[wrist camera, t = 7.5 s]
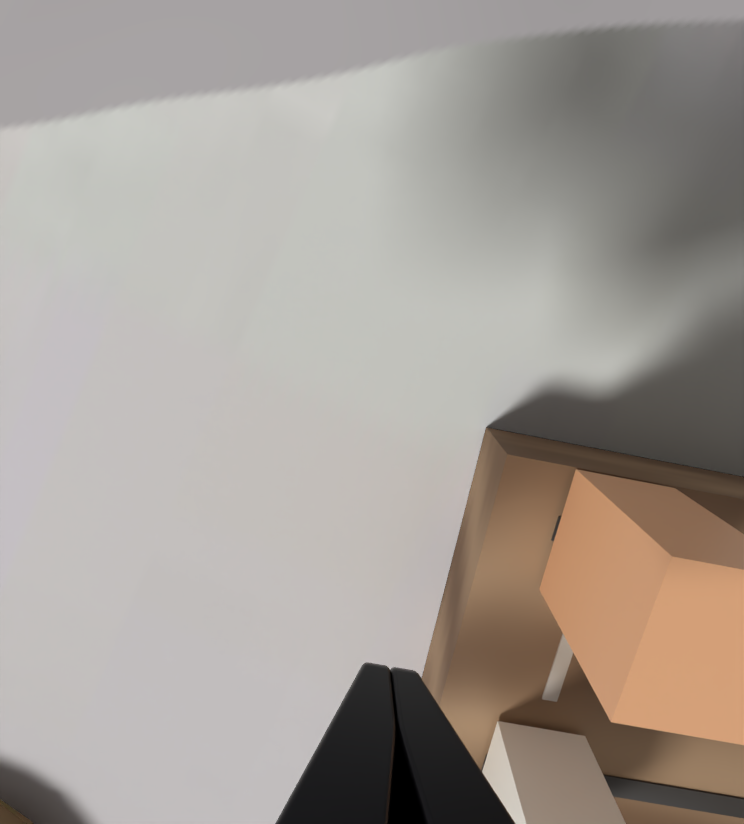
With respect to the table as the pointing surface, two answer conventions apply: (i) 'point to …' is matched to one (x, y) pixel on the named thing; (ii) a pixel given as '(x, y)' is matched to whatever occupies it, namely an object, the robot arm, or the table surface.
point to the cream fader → (548, 777)
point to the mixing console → (546, 644)
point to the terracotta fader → (652, 605)
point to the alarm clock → (11, 815)
